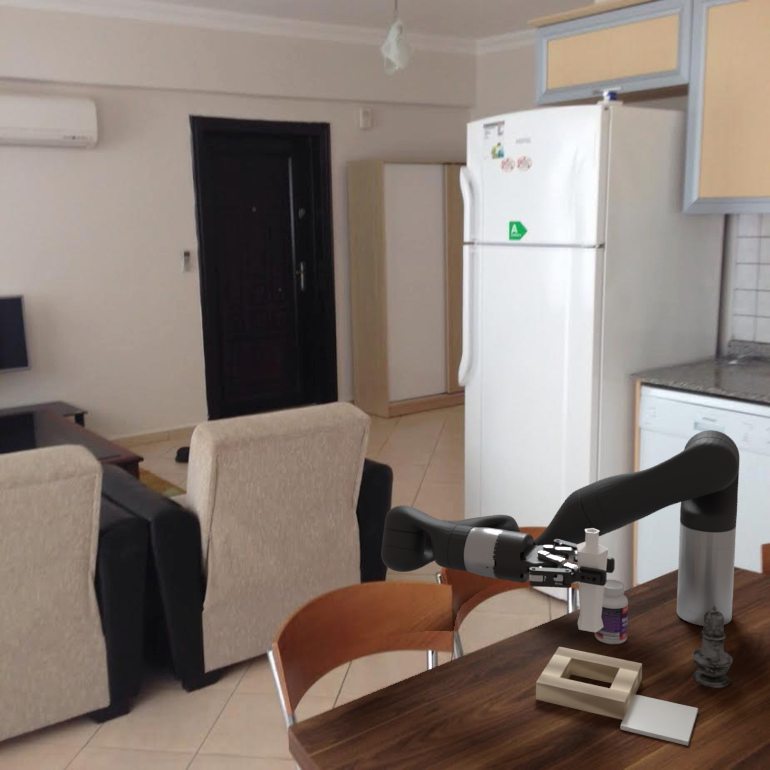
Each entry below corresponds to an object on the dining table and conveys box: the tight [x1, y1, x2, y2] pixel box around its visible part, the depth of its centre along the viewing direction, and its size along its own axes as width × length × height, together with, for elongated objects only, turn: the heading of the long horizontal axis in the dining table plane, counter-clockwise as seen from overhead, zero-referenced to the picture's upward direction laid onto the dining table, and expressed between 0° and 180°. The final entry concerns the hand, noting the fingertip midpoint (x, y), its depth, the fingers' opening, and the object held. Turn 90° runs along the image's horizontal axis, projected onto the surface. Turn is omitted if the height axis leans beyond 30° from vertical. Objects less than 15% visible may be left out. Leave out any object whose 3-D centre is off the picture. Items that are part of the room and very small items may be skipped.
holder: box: [535, 646, 643, 721], centre depth 130 cm, size 12×13×3 cm
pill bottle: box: [594, 579, 629, 645], centre depth 146 cm, size 5×5×10 cm
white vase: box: [576, 528, 609, 633], centre depth 127 cm, size 5×4×15 cm
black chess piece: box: [691, 606, 734, 689], centre depth 132 cm, size 6×6×12 cm
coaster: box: [620, 693, 699, 746], centre depth 122 cm, size 9×9×1 cm
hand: (609, 571), depth 126 cm, fingers closed on white vase, 4 cm apart
